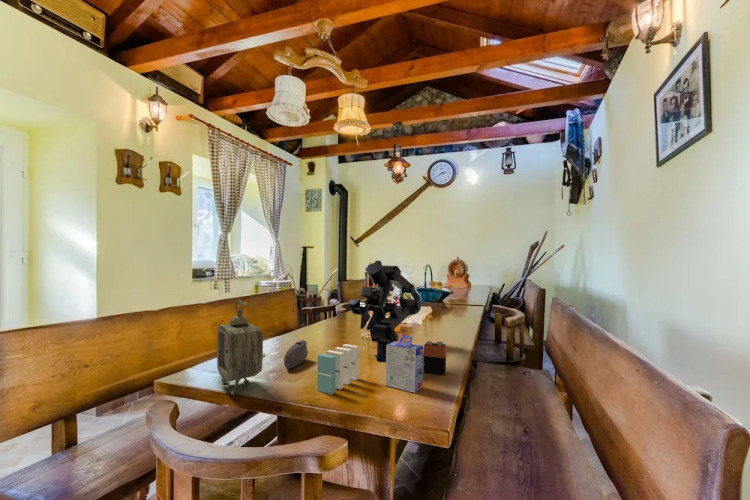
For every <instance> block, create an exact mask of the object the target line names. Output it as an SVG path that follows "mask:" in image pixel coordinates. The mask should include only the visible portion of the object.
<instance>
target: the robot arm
mask: <svg viewBox="0 0 750 500" xmlns="http://www.w3.org/2000/svg"><path fill="white" fill-rule="evenodd" d="M365 270H366V273H367V275H368V278H369V279H370V280H371V283H372V284H374V285H375V286H373V287H372V286H362V289H361V292H360V293H361V294H360V296H361V297H363V298H364V302H362V301H361V299H354V298H353V299H349V301H348V303H347V306H348V309H349V310H350V311H351V313H352V314H354V315H359V316H360V329H361V330H364V328H366V330H367V331H370V333H369V334H370V338H371V339H370V340H371V342H372V343H373V342H374V343H376V354H374V357H375V360H376V361H377V362H386V350H387V344H389V343H392V342H399V335H398V334H397V331H396V330H395V329H396V328H397V327H399V325H401V323H403V321H404V320H406V319H407V318H408V317H409V316H414V315H416V314H418V313H419V312H420V311H421V309H422V303H421V296H420V295H419V294H418V293H417V291H416V286H415V285H414V284H413V283H411V282H410V281H409V280H408V279H406V277H404V275H402V271H401V269H400V268H399V266H398V265H383V262H382V261H381V260H375V261H374V262H372V263H370V264H369V265H367V267H366V269H365ZM393 285H394V286H395V287H396V288H397V289H399V290H400V292H401V294H400V296H399V297H398V301H399V306H398V305H397V303H396V302H389V299H388V296H389V295H390V292H394V287H393ZM405 294H410V296H412V298H404V295H405ZM370 312H372V314H371V315H370ZM388 314H389V316H387V315H388ZM386 316H387V317H386Z"/></svg>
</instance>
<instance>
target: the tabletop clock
mask: <svg viewBox="0 0 750 500" xmlns="http://www.w3.org/2000/svg"><path fill="white" fill-rule="evenodd" d="M238 303H239V304H240V306H241V309H238ZM234 308H235V312H236V315H235V316H233V317H232V318H231V319H230V321H229V323H228V324H220V325H218V326H217V335H216V336H217V339H216V340H217V342H216V364H217V370H218V373H219V375H220V377H221V378H222V379H221V383H223V384H225V383H229V382H234V381H235V382H234V387H233V389H232V390H231V391H230V392H231V393H230V394H231V396H236V395H237V394H238V390H237V388H238V385H239V383H240V381H241V380H242V379H243V385H244V386H248V385H249V384H250V380H249V379H247V378H253V377H256V376H257V375H259V374H260V373H261V372H262V370H263V359H264V357H263V353H264V352H263V351H264V346H263V345H264V338H263V331H262V329H261V328H260V327H258V326H256V325H254V324H252V323H249V319H248V317H247V316H244V315H243V313H244V304H243V301H242V300H241V299H237V300H236V301H235V306H234Z"/></svg>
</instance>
